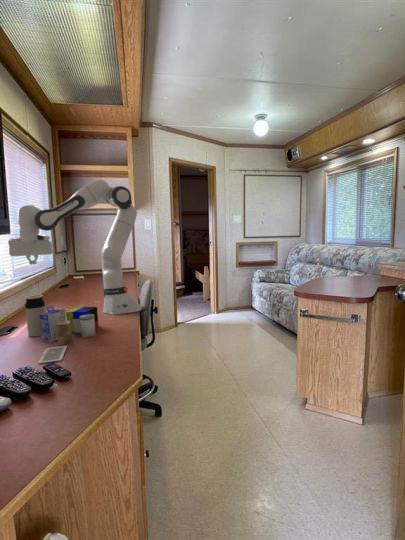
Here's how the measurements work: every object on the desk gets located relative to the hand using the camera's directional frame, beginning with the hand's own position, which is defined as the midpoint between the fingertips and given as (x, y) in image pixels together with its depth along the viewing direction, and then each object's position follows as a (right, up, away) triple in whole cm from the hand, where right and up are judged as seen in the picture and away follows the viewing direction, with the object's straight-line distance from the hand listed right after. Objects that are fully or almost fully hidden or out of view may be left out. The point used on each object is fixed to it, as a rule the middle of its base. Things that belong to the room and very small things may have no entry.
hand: (33, 264), depth 161 cm
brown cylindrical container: (+30, -34, -29) cm, 54 cm away
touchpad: (+31, -36, -42) cm, 64 cm away
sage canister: (+36, -33, -20) cm, 53 cm away
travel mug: (+11, -33, -16) cm, 38 cm away
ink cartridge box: (+22, -34, -23) cm, 46 cm away
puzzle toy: (+30, -32, -11) cm, 45 cm away
